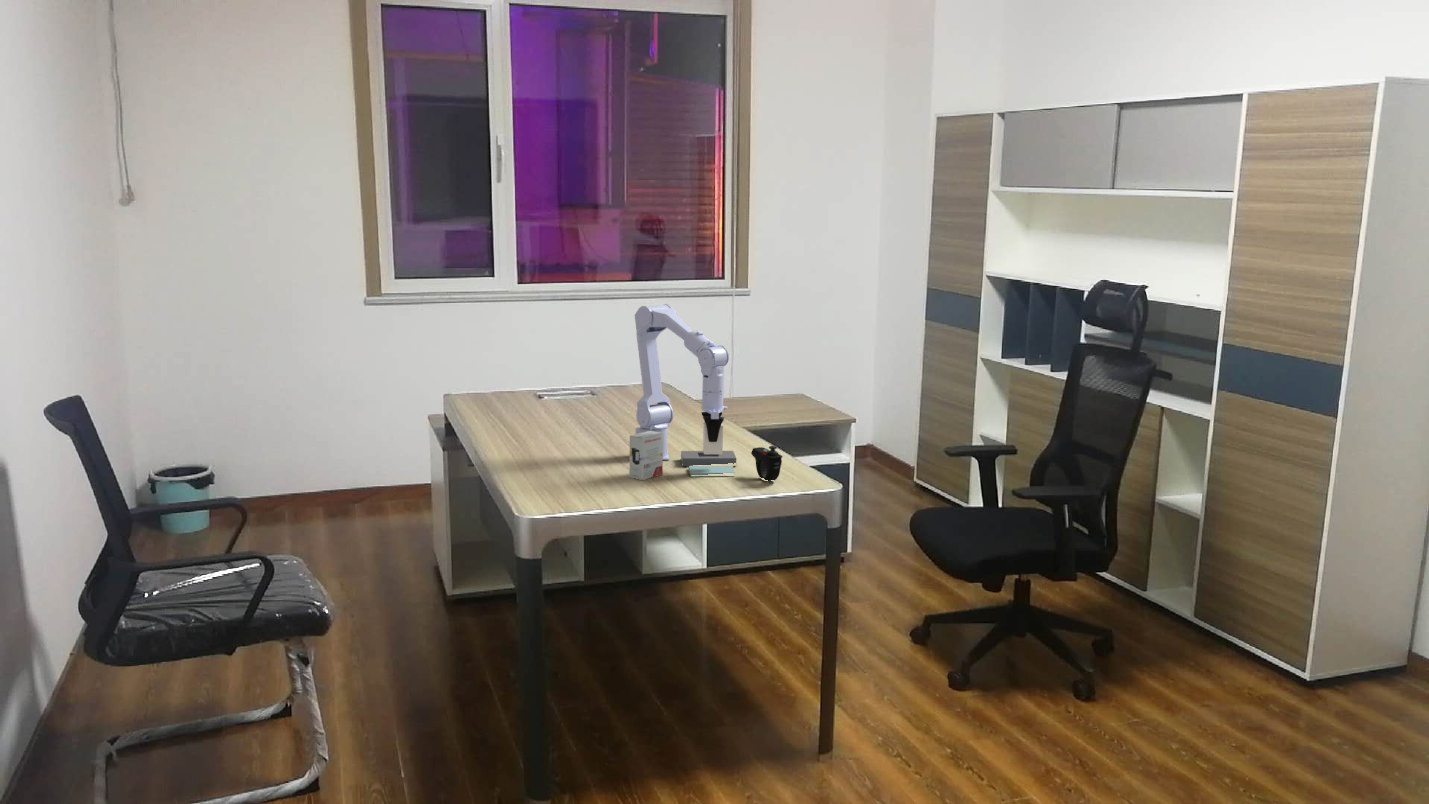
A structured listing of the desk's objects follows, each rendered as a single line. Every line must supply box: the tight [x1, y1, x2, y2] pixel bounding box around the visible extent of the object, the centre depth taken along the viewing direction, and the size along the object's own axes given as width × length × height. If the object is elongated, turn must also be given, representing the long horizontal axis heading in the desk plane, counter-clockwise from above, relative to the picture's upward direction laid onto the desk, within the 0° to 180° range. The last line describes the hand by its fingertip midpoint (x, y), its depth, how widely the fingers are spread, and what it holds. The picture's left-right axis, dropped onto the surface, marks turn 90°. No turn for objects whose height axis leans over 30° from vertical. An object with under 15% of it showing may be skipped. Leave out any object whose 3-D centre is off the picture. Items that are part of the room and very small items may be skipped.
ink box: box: [629, 431, 664, 481], centre depth 295 cm, size 9×5×12 cm, turn 141°
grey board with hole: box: [680, 450, 737, 467], centre depth 311 cm, size 15×9×2 cm, turn 95°
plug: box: [702, 422, 724, 454], centre depth 299 cm, size 5×4×8 cm
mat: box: [688, 466, 736, 475], centre depth 300 cm, size 12×8×1 cm, turn 95°
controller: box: [750, 445, 783, 482], centre depth 293 cm, size 4×12×10 cm, turn 24°
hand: (712, 439), depth 299 cm, fingers closed on plug, 4 cm apart
